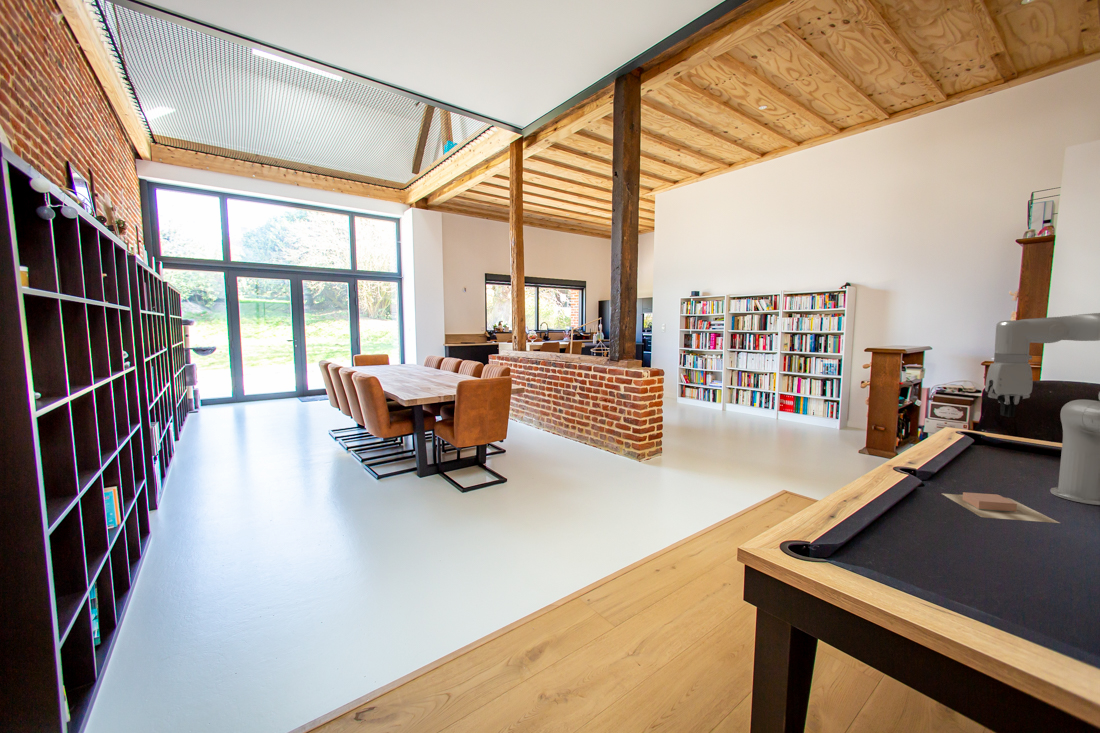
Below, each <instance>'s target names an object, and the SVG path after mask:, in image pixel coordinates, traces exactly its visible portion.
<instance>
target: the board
mask: <svg viewBox="0 0 1100 733" xmlns="http://www.w3.org/2000/svg"><path fill="white" fill-rule="evenodd" d="M941 495H943V496H944V497H946V498H948V499H949V500H951V501H953V502H955V503H957V504H958V505H960V506H962V507H963V508H965V509H966V510H969V511H970V512H972V513H973V514H975V515H977V516H978V517H981V518H984V519H997V520H998V519H999V520H1000V519H1001V520H1010V521H1011V520H1013V521H1026V522H1037V523H1038V522H1041V523H1050V524H1052V523H1053V524H1054V523H1055V524H1061V522H1059V521H1057V520H1055V519H1053V518H1051V517H1049V516H1047V515H1045V514H1043V513H1041V512H1038V511H1037V510H1035V509H1032V508H1030V507H1028V506H1027V505H1024V504H1023V503H1020V502H1019V501H1016V500H1014V499H1012V498H1010V497H1005V498H1006V499H1008V500H1010V501H1012V502H1014V503H1016V504H1017V508H1016V512H1005V511H991V510H979V509H977V508H975V507H974V506H972V505H970V504H968V503H967V502H965V501H964V500H963V494H953V493H941Z"/></svg>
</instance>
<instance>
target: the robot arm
mask: <svg viewBox="0 0 1100 733" xmlns="http://www.w3.org/2000/svg"><path fill="white" fill-rule="evenodd" d="M994 341H995V342H994V356H993V362H991V363H990V365H989V367H988V369H987V370H988V371H987V372H986V373H987V374H986V379H985V386H984V388H985V389H984V390H985V392H986V393H988V394H987V397H988V398H990V399H995V400H996V401H997V402H998V404H999V403H1000V407H999V408H1000V411H999V412H1000V416H1003V417H1008V418H1010V417H1012V418H1014V417H1015V416H1016V406H1017V405H1018V404H1019V402H1020V401H1022V400H1024V399H1030V397H1031V393H1032V391H1033V383H1034V381H1033V370H1032V366H1031V364H1030V363H1029V360H1033V356H1032V355H1031V354H1030V344H1031V343H1032V344H1034V343H1037V344H1054V343H1058V342H1060V341H1076V342H1093V341H1094V342H1096V341H1097V342H1099V341H1100V312H1095V313H1094V312H1093V313H1083V314H1073V315H1072V314H1071V315H1064V316H1053V317H1052V316H1050V317H1039V318H1038V317H1035V318H1024V319H1019V320H1018V319H1016V320H1001V321H999V322H997V323H996V326H995V340H994ZM1059 416H1060V422H1061V426H1062V444H1061V454H1060V455H1061V456H1060V464H1059V465H1060V466H1059V474H1058V476H1059V477H1058V486H1055V487H1051V488H1050V493H1051V494H1052V495H1054V496H1056V497H1059V498H1062V499H1065V500H1069V501H1071V502H1077V503H1081V504H1087V505H1095V506H1100V391H1099V392H1098V400H1093V399H1075V400H1070V401H1069V402H1068V401H1067V403H1065V404H1064V405H1063V406H1062V407H1061V410H1060V414H1059Z"/></svg>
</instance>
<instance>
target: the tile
mask: <svg viewBox="0 0 1100 733" xmlns="http://www.w3.org/2000/svg"><path fill="white" fill-rule="evenodd" d="M962 495H963V500H964V501H965V502H967V503H968V504H970V505H972V506H974V507H975V508H977V509H979V510H991V511H1005V512H1016V508H1017V504H1016V503H1014V502H1012V501H1010V500H1008V499H1006V498H1007V497H1004V496H1003V495H999V494H995V493H993V494H992V493H979V492H963V491H962Z"/></svg>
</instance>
